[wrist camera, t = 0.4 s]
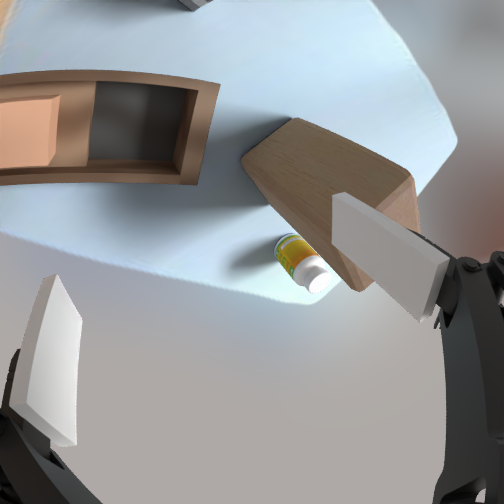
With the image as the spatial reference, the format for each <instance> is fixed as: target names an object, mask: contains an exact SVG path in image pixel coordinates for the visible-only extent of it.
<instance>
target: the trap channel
mask: <svg viewBox="0 0 504 504" xmlns="http://www.w3.org/2000/svg"><path fill="white" fill-rule="evenodd" d="M220 85H221V84H218V83H213V82H208V81H203V80H197V79H191V78H184V77H177V76H170V75H162V74H153V73H143V72H130V71H114V70H50V71H35V72H23V73H14V74H6V75H0V99H7V98H17V97H29V96H44V95H60V102H59V111H58V121H57V134H56V153H55V155H54V156H53V158H52V159H51V161H50V163H49V164H48V166H25V167H9V168H0V186H2V185H18V184H40V183H81V182H115V183H159V184H182V185H197V184H198V179H199V174H200V169H201V164H202V160H203V155H204V150H205V146H206V142H207V137H208V133H209V129H210V124H211V120H212V116H213V112H214V108H215V104H216V100H217V96H218V92H219V88H220Z"/></svg>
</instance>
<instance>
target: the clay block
mask: <svg viewBox="0 0 504 504" xmlns="http://www.w3.org/2000/svg"><path fill="white" fill-rule="evenodd" d="M59 102H60V95H44V96H29V97H17V98H7V99H0V168H9V167H25V166H48V164H49V163H50V161H51V159H52V158H53V156H54V155H55V153H56V134H57V121H58V111H59Z"/></svg>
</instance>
